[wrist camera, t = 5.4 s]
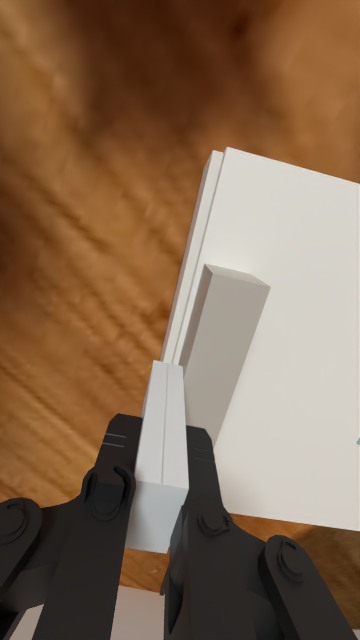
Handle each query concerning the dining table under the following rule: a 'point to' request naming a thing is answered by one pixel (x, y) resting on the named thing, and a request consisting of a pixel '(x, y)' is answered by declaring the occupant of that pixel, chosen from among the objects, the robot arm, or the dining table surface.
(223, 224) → the lid
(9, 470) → the dining table surface
